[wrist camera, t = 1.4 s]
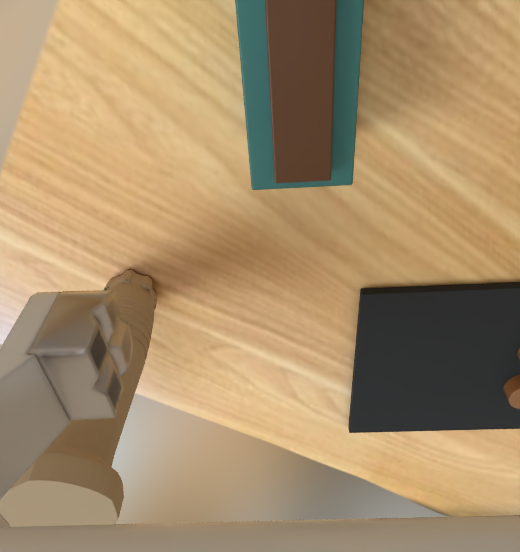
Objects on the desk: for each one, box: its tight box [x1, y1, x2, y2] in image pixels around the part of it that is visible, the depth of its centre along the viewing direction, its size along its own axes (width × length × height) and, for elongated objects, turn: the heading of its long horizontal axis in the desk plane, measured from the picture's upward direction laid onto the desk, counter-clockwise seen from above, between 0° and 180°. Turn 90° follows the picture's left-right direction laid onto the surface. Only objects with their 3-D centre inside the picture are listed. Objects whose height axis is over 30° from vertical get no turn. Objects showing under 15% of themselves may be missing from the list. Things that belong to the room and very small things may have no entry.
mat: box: [349, 282, 520, 433], centre depth 36 cm, size 24×16×1 cm, turn 94°
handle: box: [0, 270, 157, 527], centre depth 26 cm, size 5×6×15 cm
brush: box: [235, 0, 364, 190], centre depth 20 cm, size 4×9×6 cm, turn 4°
